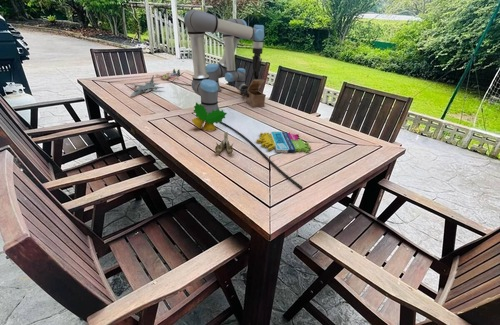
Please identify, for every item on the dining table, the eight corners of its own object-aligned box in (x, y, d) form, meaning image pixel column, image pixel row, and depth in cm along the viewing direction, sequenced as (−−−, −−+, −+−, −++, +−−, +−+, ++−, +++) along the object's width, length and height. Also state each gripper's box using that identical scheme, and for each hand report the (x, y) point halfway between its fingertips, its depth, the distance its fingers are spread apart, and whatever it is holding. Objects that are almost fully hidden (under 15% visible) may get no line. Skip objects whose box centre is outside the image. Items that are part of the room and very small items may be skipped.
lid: (264, 80, 205) (262, 71, 207) (253, 80, 201) (250, 71, 203) (258, 90, 218) (256, 81, 220) (247, 90, 215) (245, 81, 217)
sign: (313, 150, 142) (258, 149, 139) (312, 153, 143) (258, 152, 140) (301, 132, 164) (254, 130, 161) (301, 134, 165) (254, 133, 162)
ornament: (218, 133, 171) (224, 110, 169) (221, 134, 163) (227, 111, 161) (186, 125, 162) (192, 101, 160) (189, 126, 155) (195, 101, 153)
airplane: (124, 87, 237) (122, 75, 232) (159, 84, 250) (158, 74, 245) (128, 99, 208) (126, 87, 203) (168, 96, 222) (167, 84, 217)
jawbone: (234, 135, 144) (233, 125, 135) (233, 160, 138) (232, 151, 129) (217, 135, 144) (216, 125, 135) (216, 160, 138) (214, 150, 129)
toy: (188, 70, 290) (175, 74, 264) (188, 76, 294) (176, 81, 268) (165, 67, 295) (150, 71, 269) (166, 74, 299) (151, 78, 273)
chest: (264, 106, 212) (265, 94, 208) (253, 107, 209) (253, 95, 204) (257, 101, 224) (258, 90, 219) (246, 102, 220) (247, 90, 215)
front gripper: (266, 49, 193) (263, 81, 205) (258, 46, 205) (256, 77, 216) (256, 48, 191) (254, 81, 202) (249, 46, 202) (247, 77, 214)
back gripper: (255, 92, 239) (266, 99, 221) (232, 93, 231) (241, 100, 213) (256, 84, 235) (267, 90, 218) (232, 85, 227) (241, 91, 210)
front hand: (255, 79), depth 209 cm, fingers closed on lid
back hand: (254, 95), depth 216 cm, fingers closed on chest, 10 cm apart
